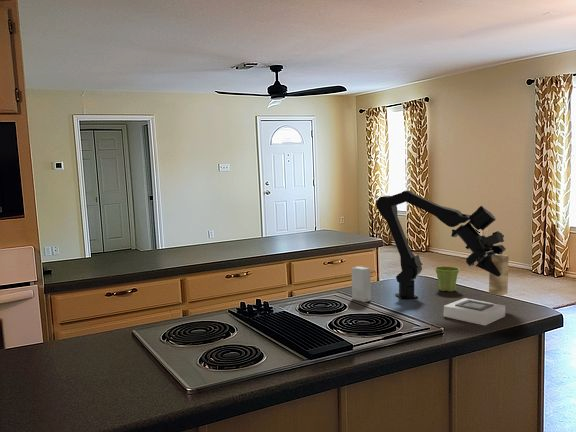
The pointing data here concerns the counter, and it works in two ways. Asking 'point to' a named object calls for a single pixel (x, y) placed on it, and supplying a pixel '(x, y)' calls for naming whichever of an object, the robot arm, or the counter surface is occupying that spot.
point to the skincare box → (361, 283)
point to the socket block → (474, 311)
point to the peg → (499, 283)
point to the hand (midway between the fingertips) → (502, 274)
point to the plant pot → (447, 277)
